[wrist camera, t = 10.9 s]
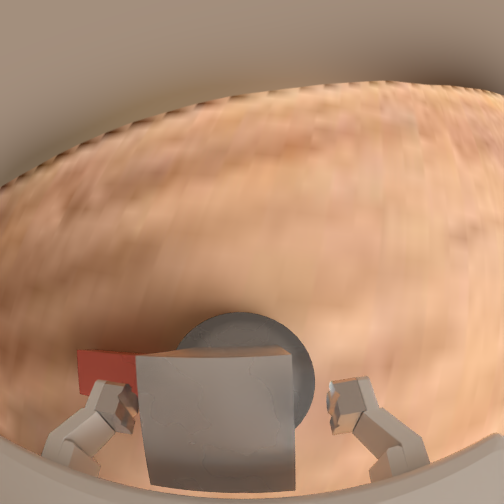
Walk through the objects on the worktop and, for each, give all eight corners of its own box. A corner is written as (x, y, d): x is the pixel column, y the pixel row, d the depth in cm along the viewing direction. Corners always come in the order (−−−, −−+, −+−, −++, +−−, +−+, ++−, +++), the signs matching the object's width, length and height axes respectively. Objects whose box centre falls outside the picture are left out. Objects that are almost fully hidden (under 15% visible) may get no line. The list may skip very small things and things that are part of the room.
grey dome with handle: (101, 420, 18) (45, 443, 11) (94, 315, 20) (34, 303, 13) (309, 430, 17) (331, 473, 10) (304, 311, 20) (326, 298, 13)
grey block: (202, 419, 15) (150, 484, 7) (197, 346, 17) (135, 355, 8) (280, 418, 15) (295, 490, 7) (276, 344, 17) (291, 354, 8)
